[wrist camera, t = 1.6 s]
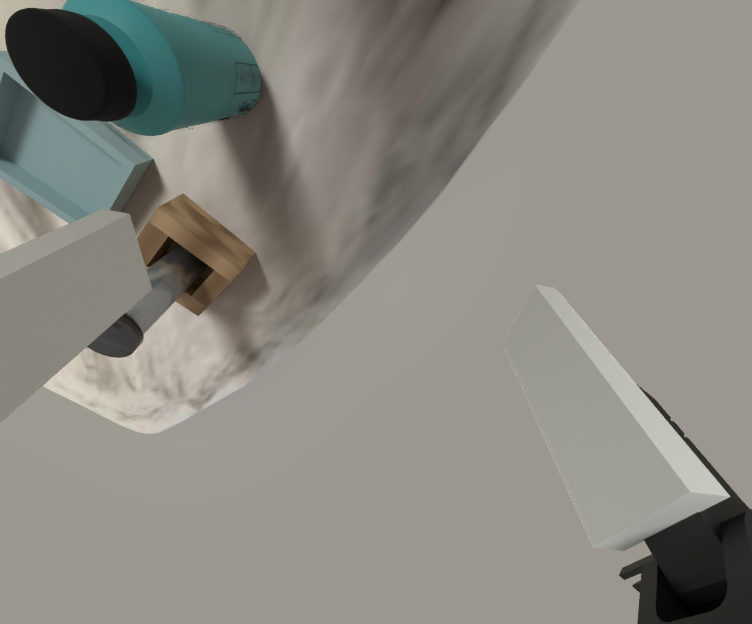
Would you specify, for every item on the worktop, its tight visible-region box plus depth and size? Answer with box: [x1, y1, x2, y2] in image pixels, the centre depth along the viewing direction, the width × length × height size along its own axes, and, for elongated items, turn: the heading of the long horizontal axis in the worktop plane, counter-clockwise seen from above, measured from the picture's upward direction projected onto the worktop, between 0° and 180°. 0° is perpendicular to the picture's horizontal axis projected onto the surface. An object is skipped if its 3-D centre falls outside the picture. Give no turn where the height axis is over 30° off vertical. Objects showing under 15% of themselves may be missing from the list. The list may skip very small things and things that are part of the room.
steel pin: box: [87, 244, 209, 357], centre depth 33 cm, size 5×5×16 cm
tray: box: [0, 51, 153, 224], centre depth 32 cm, size 12×12×3 cm
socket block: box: [137, 194, 255, 316], centre depth 38 cm, size 10×10×5 cm
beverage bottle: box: [5, 0, 261, 136], centre depth 21 cm, size 6×7×20 cm
